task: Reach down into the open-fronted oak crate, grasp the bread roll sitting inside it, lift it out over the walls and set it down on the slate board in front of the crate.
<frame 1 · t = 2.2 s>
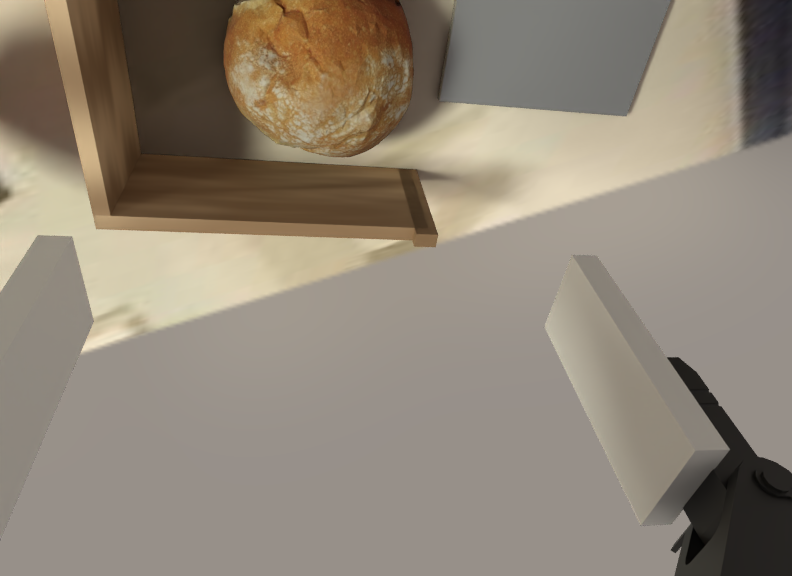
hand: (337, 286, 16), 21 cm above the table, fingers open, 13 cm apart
oak crate: (274, 48, 31), on the table
bread roll: (320, 47, 32), resting in oak crate
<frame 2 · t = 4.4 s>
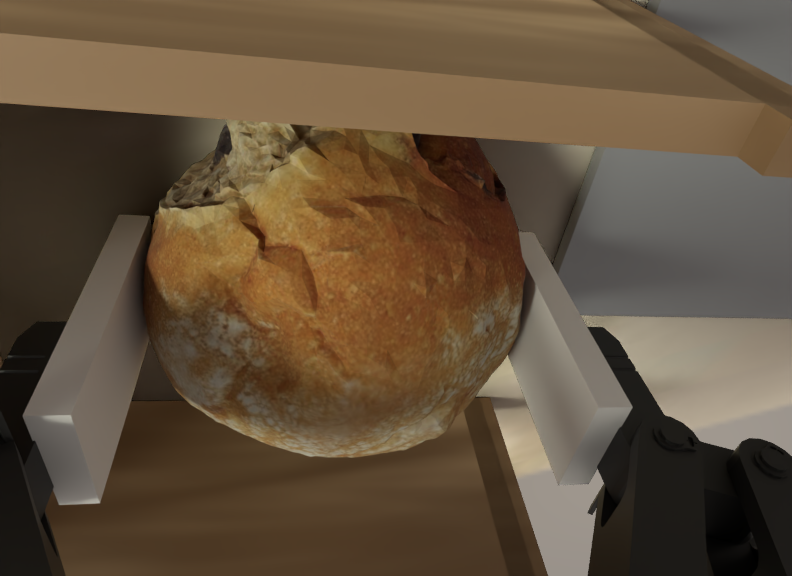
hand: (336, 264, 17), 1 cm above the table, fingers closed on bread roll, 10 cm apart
oak crate: (248, 245, 17), on the table
bread roll: (337, 236, 17), resting in oak crate, touching gripper
slate board: (786, 153, 17), on the table
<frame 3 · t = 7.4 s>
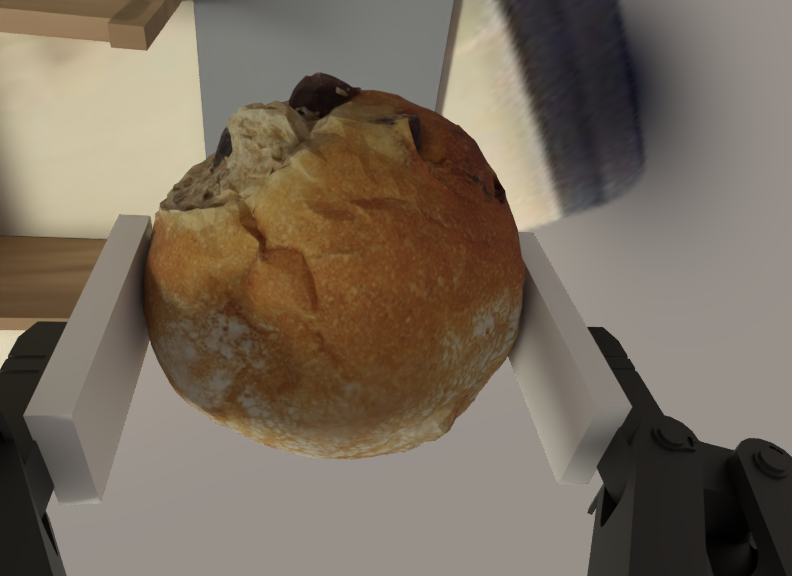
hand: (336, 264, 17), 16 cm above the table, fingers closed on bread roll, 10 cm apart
oak crate: (9, 126, 29), on the table
bread roll: (337, 237, 17), point 16 cm above the table, touching gripper
slate board: (322, 73, 29), on the table
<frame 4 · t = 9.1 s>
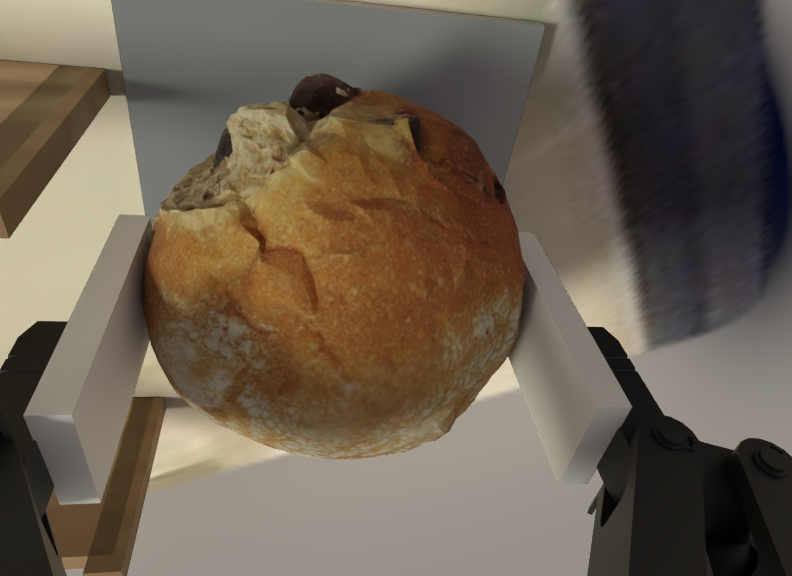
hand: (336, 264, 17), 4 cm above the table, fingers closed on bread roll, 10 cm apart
bread roll: (337, 237, 17), point 3 cm above the table, touching gripper
slate board: (328, 188, 20), on the table
when the fingers open (3 cm above the table, at t = 10.4 s): bread roll drops 1 cm, resting on slate board.
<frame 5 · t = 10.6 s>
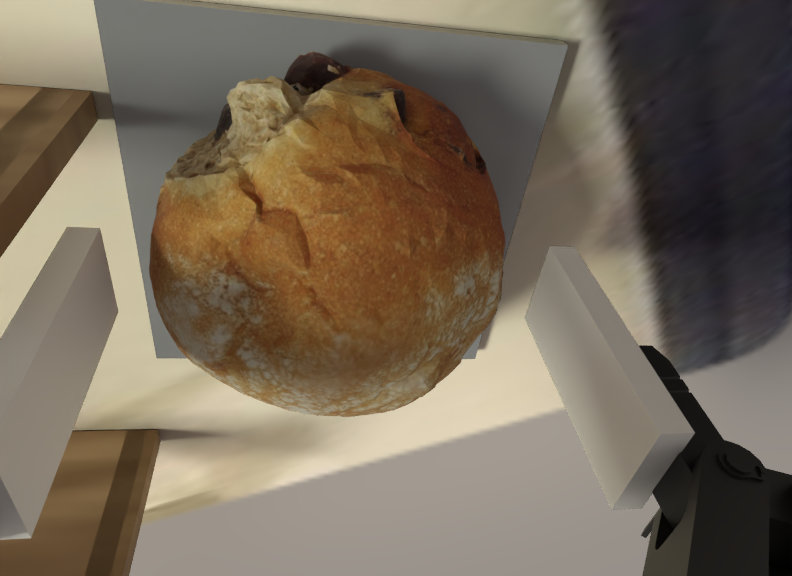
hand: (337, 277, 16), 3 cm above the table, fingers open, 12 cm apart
bread roll: (331, 212, 18), resting on slate board
slate board: (332, 215, 19), on the table
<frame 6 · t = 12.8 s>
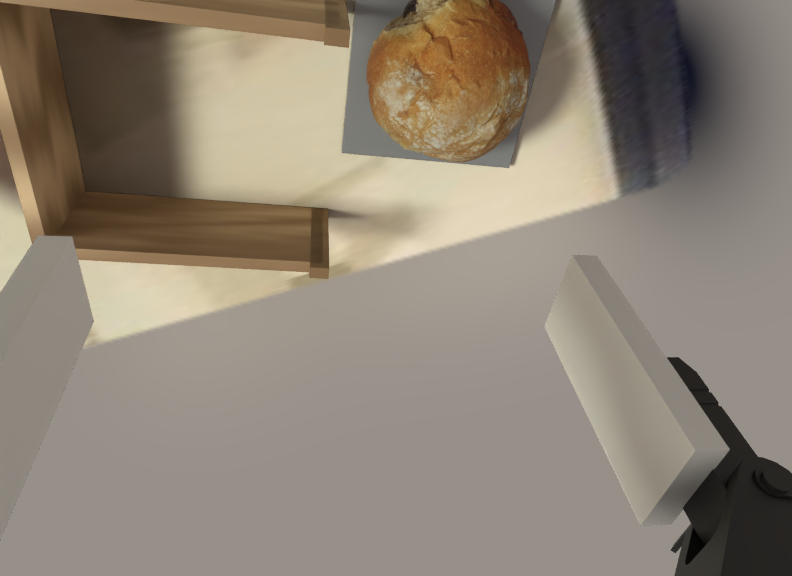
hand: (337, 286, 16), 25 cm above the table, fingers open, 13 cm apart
oak crate: (196, 107, 37), on the table
bread roll: (442, 66, 37), resting on slate board
slate board: (442, 71, 37), on the table
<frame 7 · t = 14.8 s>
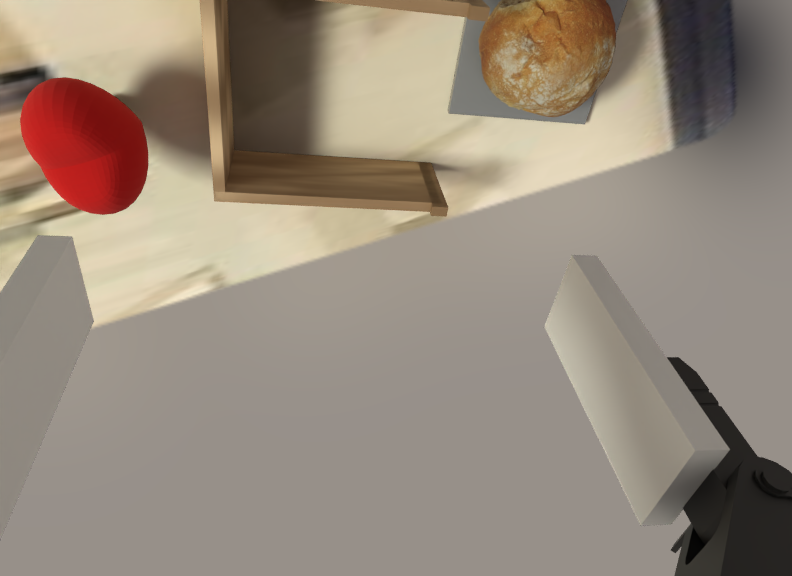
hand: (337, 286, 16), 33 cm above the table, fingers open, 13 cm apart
oak crate: (333, 76, 44), on the table
bread roll: (537, 37, 44), resting on slate board
slate board: (536, 42, 45), on the table
red heart shape: (114, 108, 44), on the table
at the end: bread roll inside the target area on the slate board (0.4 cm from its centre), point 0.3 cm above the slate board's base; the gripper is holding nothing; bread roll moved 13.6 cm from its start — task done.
